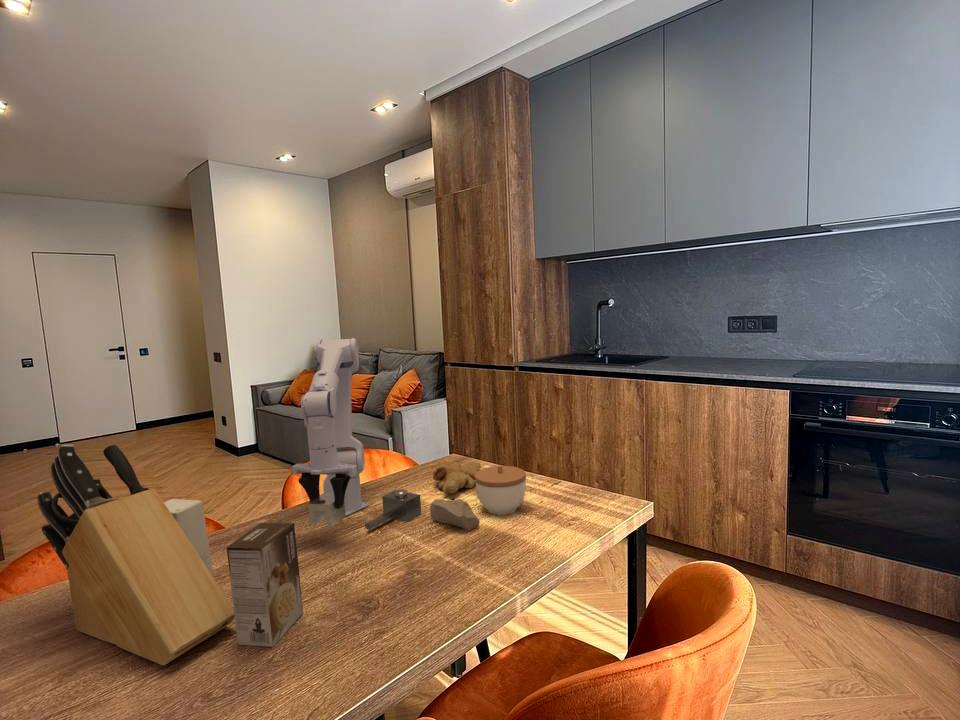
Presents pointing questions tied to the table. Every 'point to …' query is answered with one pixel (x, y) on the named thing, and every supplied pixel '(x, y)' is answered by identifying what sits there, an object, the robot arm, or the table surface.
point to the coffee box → (265, 583)
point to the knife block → (129, 563)
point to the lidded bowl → (501, 488)
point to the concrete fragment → (454, 513)
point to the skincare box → (192, 525)
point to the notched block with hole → (325, 510)
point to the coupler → (397, 507)
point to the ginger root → (456, 476)
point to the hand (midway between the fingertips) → (327, 506)
